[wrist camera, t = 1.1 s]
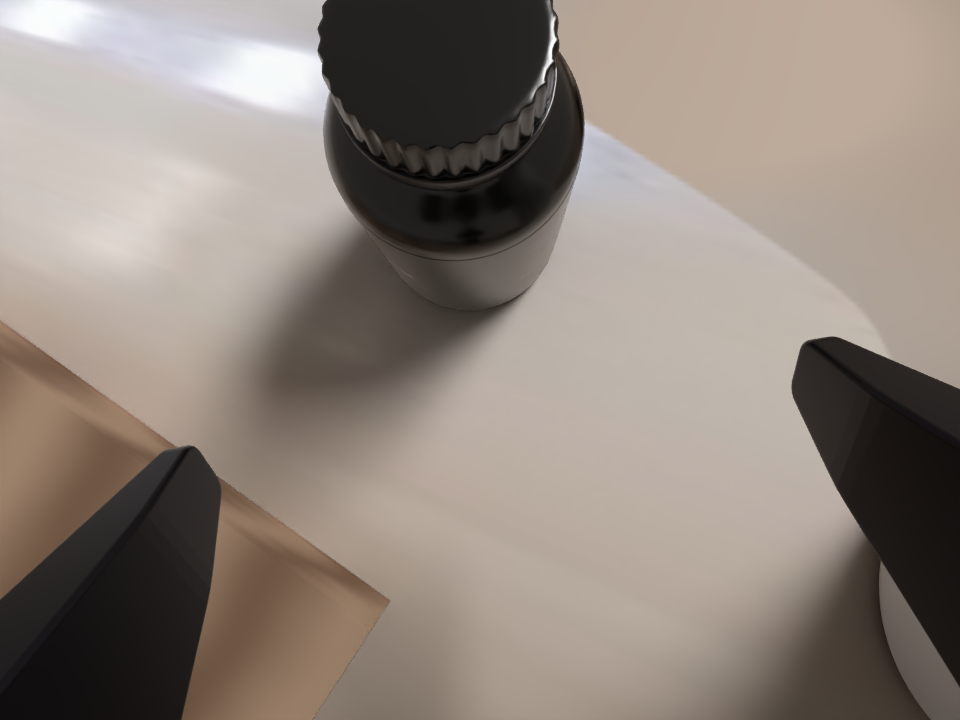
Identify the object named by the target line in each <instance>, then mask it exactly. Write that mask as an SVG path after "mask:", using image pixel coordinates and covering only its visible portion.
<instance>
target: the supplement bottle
mask: <svg viewBox="0 0 960 720" xmlns="http://www.w3.org/2000/svg"><path fill="white" fill-rule="evenodd" d="M322 14H323V18H322V20H321V22H320V24H319V26H318V33H319V37H320V43H319V46H318V56H319V58H320V60H321V62H322V75H323V79H324V81H325V83H326V85H327V87H328V89H329V90H330V91H329V95H328V99H327V102H326V108H325V114H324V125H323V136H324V147H325V154H326V159H327V163H328V167H329V170H330V173H331V176H332V178H333V181H334V183H335V185H336V187H337V189H338V191H339V193H340V195H341V196H342V198H343V200H344V202H345V203H346V205H347V206H348V208H349V209H350V211H351V212H352V214H353V215H354V216H355V218H356V219H357V220H358V222H359V223H360V224H361V226H362V227H363V228H364V230H365V231H366V232H367V234H368V235H369V236H370V238H371V239H372V240H373V242H374V243H375V244H376V246H377V247H378V248H379V250H380V251H381V252H382V254H383V255H384V256H385V258H386V259H387V260H388V262H389V263H390V264H391V266H392V267H393V268H394V270H395V271H396V272H397V274H398V275H399V276H400V277H401V278H402V280H403V281H404V282H405V283H406V284H407V285H408V286H409V287H410V288H411V289H413V290H414V291H415V292H416V293H418V294H419V295H421V296H422V297H423V298H425V299H427V300H429V301H431V302H433V303H435V304H437V305H440V306H443V307H446V308H451V309H456V310H470V311H472V310H482V309H488V308H492V307H495V306H498V305H501V304H504V303H506V302H508V301H510V300H512V299H513V298H515V297H517V296H518V295H520V294H521V293H522V292H524V291H525V290H526V289H527V288H528V287H529V286H530V285H531V284H533V282H534V281H535V280H536V279H537V278H538V276H539V275H540V274H541V272H542V271H543V269H544V268H545V266H546V264H547V262H548V260H549V258H550V256H551V254H552V251H553V248H554V245H555V242H556V239H557V236H558V233H559V230H560V227H561V223H562V220H563V217H564V214H565V211H566V207H567V204H568V201H569V198H570V195H571V191H572V188H573V185H574V182H575V179H576V175H577V172H578V169H579V165H580V160H581V156H582V150H583V143H584V126H585V122H584V112H583V105H582V100H581V96H580V93H579V89H578V86H577V83H576V80H575V78H574V76H573V73H572V71H571V70H570V68H569V66H568V64H567V62H566V60H565V59H564V57H563V56H562V55H561V53H560V52H559V39H558V35H557V32H558V23H559V22H558V16H557V14H556V13H555V11H554V10H553V0H327V1H326V2H325V3H324V4H323V6H322Z"/></svg>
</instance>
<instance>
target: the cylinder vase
mask: <svg viewBox="0 0 960 720" xmlns="http://www.w3.org/2000/svg"><path fill="white" fill-rule="evenodd" d="M879 599H880V609H881V615H882V621H883V626H884V630H885V634H886V638H887V641H888V644H889V647H890V650H891V653H892V656H893V658H894V661H895V663H896V665H897V667H898V670H899V672H900V674H901V676H902V678H903V680H904V681H905V683H906V685H907V687H908V688H909V690H910V692H911V693H912V695H913V696H914V698H915V700H916V701H917V702H918V704H919V705H920V707H921V708H922V709H923V711H924V712H925V713H926V715H927V716H928V717H929V718H930V719H931V720H960V687H959V686H958V684H957V683H956V681H955V679H954V678H953V676H952V675H951V673H950V671H949V670H948V668H947V667H946V665H945V663H944V662H943V660H942V658H941V657H940V655H939V654H938V652H937V650H936V649H935V647H934V646H933V644H932V642H931V641H930V639H929V637H928V636H927V634H926V633H925V631H924V629H923V628H922V626H921V625H920V623H919V621H918V620H917V618H916V616H915V615H914V613H913V612H912V610H911V608H910V607H909V605H908V604H907V602H906V600H905V599H904V597H903V596H902V594H901V592H900V591H899V589H898V587H897V586H896V584H895V583H894V581H893V579H892V578H891V576H890V575H889V573H888V571H887V570H886V568H885V566H884V565H883V563H882V562H881V563H880V573H879Z"/></svg>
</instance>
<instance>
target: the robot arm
mask: <svg viewBox="0 0 960 720" xmlns="http://www.w3.org/2000/svg"><path fill="white" fill-rule="evenodd" d="M792 394H793V398H794V400H795V403H796V405H797V407H798V409H799V411H800V413H801V415H802V417H803V420H804V422H805V424H806V426H807V428H808V430H809V432H810V434H811V437H812V439H813V441H814V443H815V445H816V447H817V449H818V451H819V453H820V456H821V458H822V460H823V462H824V464H825V466H826V468H827V470H828V473H829V475H830V477H831V478H832V480H833V482H834V484H835V486H836V488H837V490H838V492H839V493H840V495H841V497H842V498H843V500H844V502H845V504H846V505H847V507H848V508H849V510H850V512H851V513H852V515H853V516H854V518H855V520H856V521H857V523H858V524H859V526H860V528H861V529H862V531H863V533H864V534H865V536H866V537H867V539H868V541H869V542H870V544H871V545H872V547H873V549H874V550H875V552H876V554H877V555H878V557H879V558H880V560H881V562H882V563H883V565H884V566H885V568H886V570H887V571H888V573H889V575H890V576H891V578H892V579H893V581H894V583H895V584H896V586H897V587H898V589H899V591H900V592H901V594H902V596H903V597H904V599H905V600H906V602H907V604H908V605H909V607H910V608H911V610H912V612H913V613H914V615H915V616H916V618H917V620H918V621H919V623H920V625H921V626H922V628H923V629H924V631H925V633H926V634H927V636H928V637H929V639H930V641H931V642H932V644H933V646H934V647H935V649H936V650H937V652H938V654H939V655H940V657H941V658H942V660H943V662H944V663H945V665H946V667H947V668H948V670H949V671H950V673H951V675H952V676H953V678H954V679H955V681H956V683H957V684H958V686H959V687H960V389H958V388H956V387H953V386H951V385H949V384H946V383H944V382H942V381H939V380H937V379H935V378H932V377H930V376H928V375H925V374H923V373H921V372H918V371H916V370H914V369H911V368H909V367H907V366H904V365H902V364H899V363H897V362H895V361H893V360H890V359H888V358H886V357H883V356H881V355H879V354H876V353H874V352H872V351H869V350H867V349H865V348H862V347H860V346H858V345H855V344H853V343H851V342H848V341H846V340H844V339H841V338H838V337H824V338H818V339H812V340H808V341H806V342H805V343H804V344H803V345H802V346H801V348H800V352H799V356H798V359H797V363H796V367H795V371H794V375H793V379H792ZM221 497H222V490H221V484H220V481H219V479H218V477H217V476H216V474H215V473H214V471H213V470H212V468H211V467H210V466H209V464H208V463H207V461H206V460H205V458H204V457H203V455H202V454H201V452H200V451H199V450H198V449H197V448H196V447H194V446H189V445H188V446H182V447H176V448H170V449H167V450H164V451H162V452H161V453H160V454H159V455H158V456H157V457H155V458H154V459H153V460H152V461H151V462H150V463H149V464H148V465H147V466H146V467H145V468H143V469H142V470H141V471H140V472H139V473H138V474H137V475H136V476H135V477H134V478H132V479H131V480H130V481H129V482H128V483H127V484H126V485H125V486H124V487H123V488H122V489H120V490H119V491H118V492H117V493H116V494H115V495H114V496H113V497H112V498H111V499H110V500H108V501H107V502H106V503H105V504H104V505H103V506H102V507H101V508H100V509H99V510H97V511H96V512H95V513H94V514H93V515H92V516H91V517H90V518H89V519H88V520H87V521H85V522H84V523H83V524H82V525H81V526H80V527H79V528H78V529H77V530H76V531H74V532H73V533H72V534H71V535H70V536H69V537H68V538H67V539H66V540H65V541H63V542H62V543H61V544H60V545H59V546H58V547H57V548H56V549H55V550H54V551H53V552H51V553H50V554H49V555H48V556H47V557H46V558H45V559H44V560H43V561H42V562H40V563H39V564H38V565H37V566H36V567H35V568H34V569H33V570H32V571H31V572H30V573H28V574H27V575H26V576H25V577H24V578H23V579H22V580H21V581H20V582H19V583H17V584H16V585H15V586H14V587H13V588H12V589H11V590H10V591H9V592H8V593H7V594H5V595H4V596H3V597H2V598H1V599H0V720H182V716H183V711H184V707H185V702H186V698H187V694H188V689H189V685H190V680H191V676H192V671H193V667H194V663H195V658H196V654H197V649H198V645H199V640H200V636H201V632H202V627H203V623H204V618H205V614H206V609H207V605H208V600H209V595H210V590H211V584H212V577H213V569H214V560H215V551H216V542H217V533H218V524H219V515H220V506H221Z"/></svg>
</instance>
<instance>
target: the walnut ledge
mask: <svg viewBox="0 0 960 720" xmlns="http://www.w3.org/2000/svg"><path fill="white" fill-rule="evenodd" d="M170 448H176V446H174V445H173V444H171V443H170V442H169V441H167V440H166V439H164V438H163V437H162V436H160V435H159V434H157V433H156V432H155V431H153V430H152V429H150V428H149V427H148V426H146V425H145V424H143V423H142V422H141V421H139V420H138V419H137V418H135V417H134V416H132V415H131V414H130V413H128V412H127V411H125V410H124V409H123V408H121V407H120V406H118V405H117V404H116V403H114V402H113V401H111V400H110V399H109V398H107V397H106V396H105V395H103V394H102V393H100V392H99V391H98V390H96V389H95V388H93V387H92V386H91V385H89V384H88V383H86V382H85V381H84V380H82V379H81V378H79V377H78V376H77V375H75V374H74V373H72V372H71V371H70V370H68V369H67V368H66V367H64V366H63V365H61V364H60V363H59V362H57V361H56V360H54V359H53V358H52V357H50V356H49V355H47V354H46V353H45V352H43V351H42V350H40V349H39V348H38V347H36V346H35V345H33V344H32V343H31V342H29V341H28V340H27V339H25V338H24V337H22V336H21V335H20V334H18V333H17V332H15V331H14V330H13V329H11V328H10V327H8V326H7V325H6V324H4V323H3V322H1V321H0V599H1V598H2V597H3V596H4V595H5V594H7V593H8V592H9V591H10V590H11V589H12V588H13V587H14V586H15V585H16V584H17V583H19V582H20V581H21V580H22V579H23V578H24V577H25V576H26V575H27V574H28V573H30V572H31V571H32V570H33V569H34V568H35V567H36V566H37V565H38V564H39V563H40V562H42V561H43V560H44V559H45V558H46V557H47V556H48V555H49V554H50V553H51V552H53V551H54V550H55V549H56V548H57V547H58V546H59V545H60V544H61V543H62V542H63V541H65V540H66V539H67V538H68V537H69V536H70V535H71V534H72V533H73V532H74V531H76V530H77V529H78V528H79V527H80V526H81V525H82V524H83V523H84V522H85V521H87V520H88V519H89V518H90V517H91V516H92V515H93V514H94V513H95V512H96V511H97V510H99V509H100V508H101V507H102V506H103V505H104V504H105V503H106V502H107V501H108V500H110V499H111V498H112V497H113V496H114V495H115V494H116V493H117V492H118V491H119V490H120V489H122V488H123V487H124V486H125V485H126V484H127V483H128V482H129V481H130V480H131V479H132V478H134V477H135V476H136V475H137V474H138V473H139V472H140V471H141V470H142V469H143V468H145V467H146V466H147V465H148V464H149V463H150V462H151V461H152V460H153V459H154V458H155V457H157V456H158V455H159V454H160V453H161V452H162V451H164V450H167V449H170ZM218 479H219V481H220V484H221V490H222V497H221V506H220V515H219V524H218V533H217V542H216V551H215V560H214V569H213V577H212V584H211V590H210V595H209V600H208V605H207V609H206V614H205V618H204V623H203V627H202V632H201V636H200V640H199V645H198V649H197V654H196V658H195V663H194V667H193V671H192V676H191V680H190V685H189V689H188V694H187V698H186V702H185V707H184V711H183V716H182V720H313V718H314V717H315V715H316V714H317V712H318V711H319V709H320V708H321V706H322V705H323V703H324V701H325V700H326V698H327V697H328V695H329V694H330V692H331V691H332V689H333V688H334V686H335V685H336V683H337V682H338V680H339V679H340V677H341V675H342V674H343V672H344V671H345V669H346V668H347V666H348V665H349V663H350V662H351V660H352V659H353V657H354V656H355V654H356V653H357V651H358V649H359V648H360V646H361V645H362V643H363V642H364V640H365V639H366V637H367V636H368V634H369V633H370V631H371V630H372V628H373V626H374V625H375V623H376V622H377V620H378V619H379V617H380V616H381V614H382V613H383V611H384V610H385V608H386V607H387V605H388V604H389V602H390V600H389V599H387V598H386V597H384V596H383V595H382V594H380V593H379V592H377V591H376V590H375V589H373V588H372V587H371V586H369V585H368V584H366V583H365V582H364V581H362V580H361V579H359V578H358V577H357V576H355V575H354V574H352V573H351V572H350V571H348V570H347V569H345V568H344V567H343V566H341V565H340V564H338V563H337V562H336V561H334V560H333V559H332V558H330V557H329V556H327V555H326V554H325V553H323V552H322V551H320V550H319V549H318V548H316V547H315V546H313V545H312V544H311V543H309V542H308V541H306V540H305V539H304V538H302V537H301V536H299V535H298V534H297V533H295V532H294V531H293V530H291V529H290V528H288V527H287V526H286V525H284V524H283V523H281V522H280V521H279V520H277V519H276V518H274V517H273V516H272V515H270V514H269V513H267V512H266V511H265V510H263V509H262V508H260V507H259V506H258V505H256V504H255V503H254V502H252V501H251V500H249V499H248V498H247V497H245V496H244V495H242V494H241V493H240V492H238V491H237V490H235V489H234V488H233V487H231V486H230V485H228V484H227V483H226V482H224V481H223V480H221V479H220V478H219V477H218Z"/></svg>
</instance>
